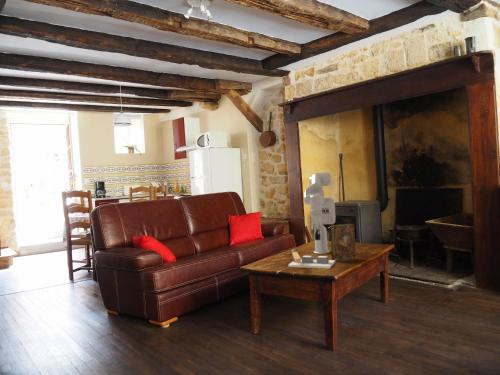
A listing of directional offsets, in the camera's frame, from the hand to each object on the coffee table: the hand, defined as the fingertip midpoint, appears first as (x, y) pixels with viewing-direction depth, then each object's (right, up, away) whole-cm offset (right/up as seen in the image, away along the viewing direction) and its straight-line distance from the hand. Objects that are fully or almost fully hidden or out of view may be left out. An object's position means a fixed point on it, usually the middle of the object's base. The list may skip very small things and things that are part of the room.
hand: (317, 239), depth 280 cm
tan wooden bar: (-15, -13, -4) cm, 20 cm away
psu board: (-3, -17, +3) cm, 18 cm away
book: (+21, -16, +11) cm, 28 cm away
